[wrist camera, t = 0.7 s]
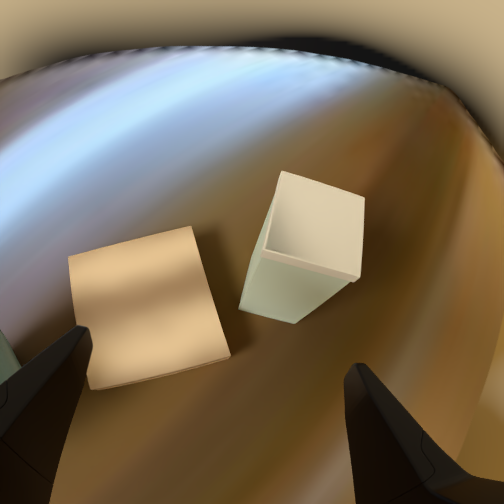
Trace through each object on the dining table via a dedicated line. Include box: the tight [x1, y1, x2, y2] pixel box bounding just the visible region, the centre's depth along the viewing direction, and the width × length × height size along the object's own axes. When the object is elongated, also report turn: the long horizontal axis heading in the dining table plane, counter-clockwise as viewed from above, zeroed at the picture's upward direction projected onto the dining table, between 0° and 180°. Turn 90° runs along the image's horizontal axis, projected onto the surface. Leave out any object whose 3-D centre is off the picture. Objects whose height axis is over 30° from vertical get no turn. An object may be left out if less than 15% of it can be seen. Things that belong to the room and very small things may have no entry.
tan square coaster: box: [68, 226, 231, 390], centre depth 24 cm, size 11×11×3 cm
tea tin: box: [238, 171, 365, 324], centre depth 22 cm, size 5×5×12 cm
